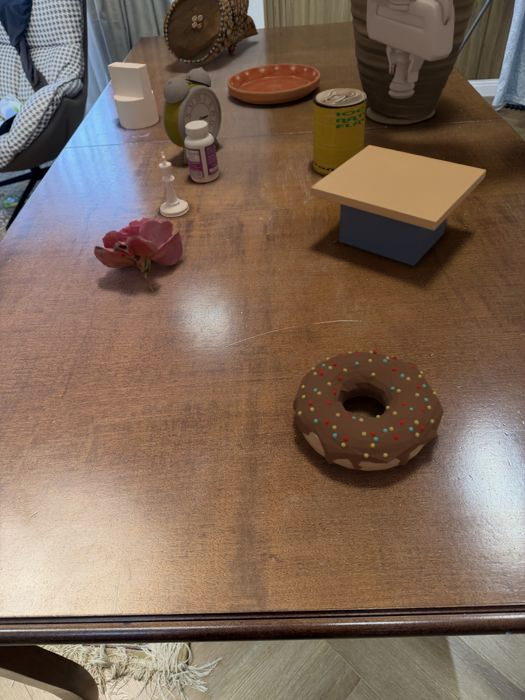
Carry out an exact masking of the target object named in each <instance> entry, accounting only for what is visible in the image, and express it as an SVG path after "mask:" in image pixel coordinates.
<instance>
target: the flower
mask: <svg viewBox="0 0 525 700" xmlns="http://www.w3.org/2000/svg"><path fill="white" fill-rule="evenodd" d="M173 228H174V223H173V222H172V221H170V220H169V219H166V218H165V219H160V218H157V217H149V218H148V217H142V219H140V220H137V219H135V220H131V221H129V222H128V225H127V226H125V227H123V228H121V229H120V230H119V231H117V230H114V229H113V230H109V231H108V232H106V233H105V235H104V236H103V237H102V238H101V239H102V243H103V247H102V246H100V245H95V246H94V249H93V254H94V256H95V258H96V259H97V260H98V261H99V262H100V263H101V264H103V266H104V267H107V268H109V269H122V268H125V267H130V266H134V267H137V269H139V270H140V272H141V274H142V276H143V277H144V279H145V280H146V282H147V283H148V285H149V288H150V289H151V291H152V292H154V290H153V287H152V286H151V284H150V282H149V281H148V276H150V275H149V272H150V269H151V264H152V261H154V262H155V263H156V264H158V265H162V266H165V267H166V266H167V267H168V266H173V265H176V264H177V263H178V262H179V261H180V260H181V258H182V256H183V250H184V246H183V239H182V236H181V234H180V232H179V231H176V232H174V233H173V230H174V229H173ZM147 275H148V276H147Z"/></svg>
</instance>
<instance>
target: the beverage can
mask: <svg viewBox="0 0 525 700" xmlns="http://www.w3.org/2000/svg"><path fill="white" fill-rule="evenodd" d="M366 97H367V95H366V94H365V93H364V91H363V90H361V89H357V88H350V87H349V88H348V87H337V88H330V89H329V88H328V89H325V90H321V91H319V92H317V93H316V94H314V95H313V97H312V167H313V170H314V171H315V172H316V173H318V174H320V175H324V176H327V175H328V174H330V173H331V172H333V171H334V170H335V169H337V168H338V167H340V166H341V165H342V164H344V163H345V162H346V161H348V160H349V159H351V158H352V157H353V156H355V155H356V154H358V153H359V152H360V151H362V150H363V149H364V141H365V125H366V110H367V98H366Z"/></svg>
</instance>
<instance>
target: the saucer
mask: <svg viewBox="0 0 525 700" xmlns="http://www.w3.org/2000/svg"><path fill="white" fill-rule="evenodd" d="M226 83H227V91H228V93H229V94H230V95H231V96H232V97H234V98H236V99H238V100H240V101H241V102H244V103H248V104H254V105H277V104H285V103H288V102H289V103H290V102H294V101H297V100H299V99H302V98H304V97H306V96H308V95H309V94H310V93H312V92H313V91H314V90H316V89H317V88H318V87H319V86H320V84H321V72H320V71H319V70H318V69H317V68H315V67H313V66H309V65H305V64H300V63H277V64H276V63H274V64H266V65H260V66H254V67H251V68H250V67H249V68H247V69H244V70H241V71H239V72H237V73H235V74H233V75H231V76H230V77H229V78H228V80H227V82H226Z"/></svg>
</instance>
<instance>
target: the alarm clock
mask: <svg viewBox="0 0 525 700" xmlns="http://www.w3.org/2000/svg"><path fill="white" fill-rule="evenodd" d="M162 92H163V97H164V99H165V100H164V104H163V107H162V108H163V109H162V123H163V128H164V131H165V134H166V136H167V138H168V139H169V140H170V142H172V143H173V144H174V145H175V146H177V147H179V148H182V151H183V157H184V158H183V159H184V160H183V161H184V164H186V165H188V160H187V155H186V149H185V144H184V141H185V138H186V137H187V136H188V135H187V134H186V129H185V125H186V124H187V123H189V122H192V121H199V120H201V121H206V122H207V123H208V128H209V132H208V133H210V134H211V135H212V136H213V138H214V142H215V148H219V147H220V143H219V140H218V139H217V138H218V136H219V132H220V130H221V127H222V126H221V125H222V105H221V102H220V99H219V98H218V95H217V94H216V92H214V90H213V89H212V79H211V77H210V74H209V73H208V72H207V71H206V70H204V68H203V67H202V66H199V67H198V68H192V69H191V70H189V71H188V72H187V75H186V76H185V79H184V78H181V77H175V76H174V77H171V78H169V79H168V80H167V81H166V82H165V84H164V86H163V91H162Z"/></svg>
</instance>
